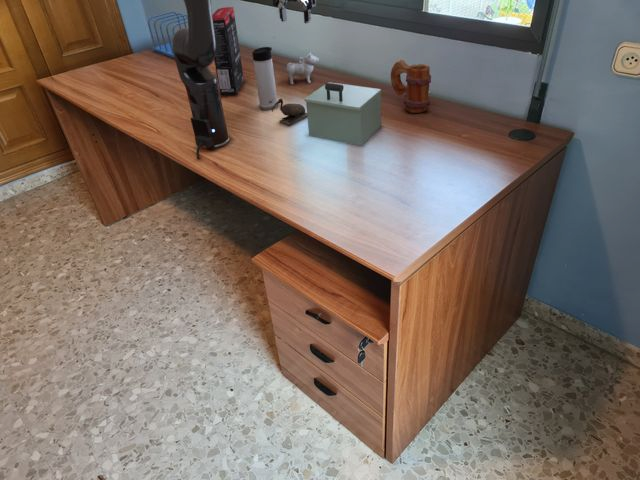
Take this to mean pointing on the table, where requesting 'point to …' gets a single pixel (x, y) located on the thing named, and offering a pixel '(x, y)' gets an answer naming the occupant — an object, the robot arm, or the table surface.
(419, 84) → the mug
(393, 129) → the table surface
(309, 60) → the dog figurine
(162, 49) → the file sorter
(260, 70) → the travel mug
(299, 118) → the figurine
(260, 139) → the table surface
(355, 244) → the table surface
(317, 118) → the chest
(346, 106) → the lid
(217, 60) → the graphics card box
